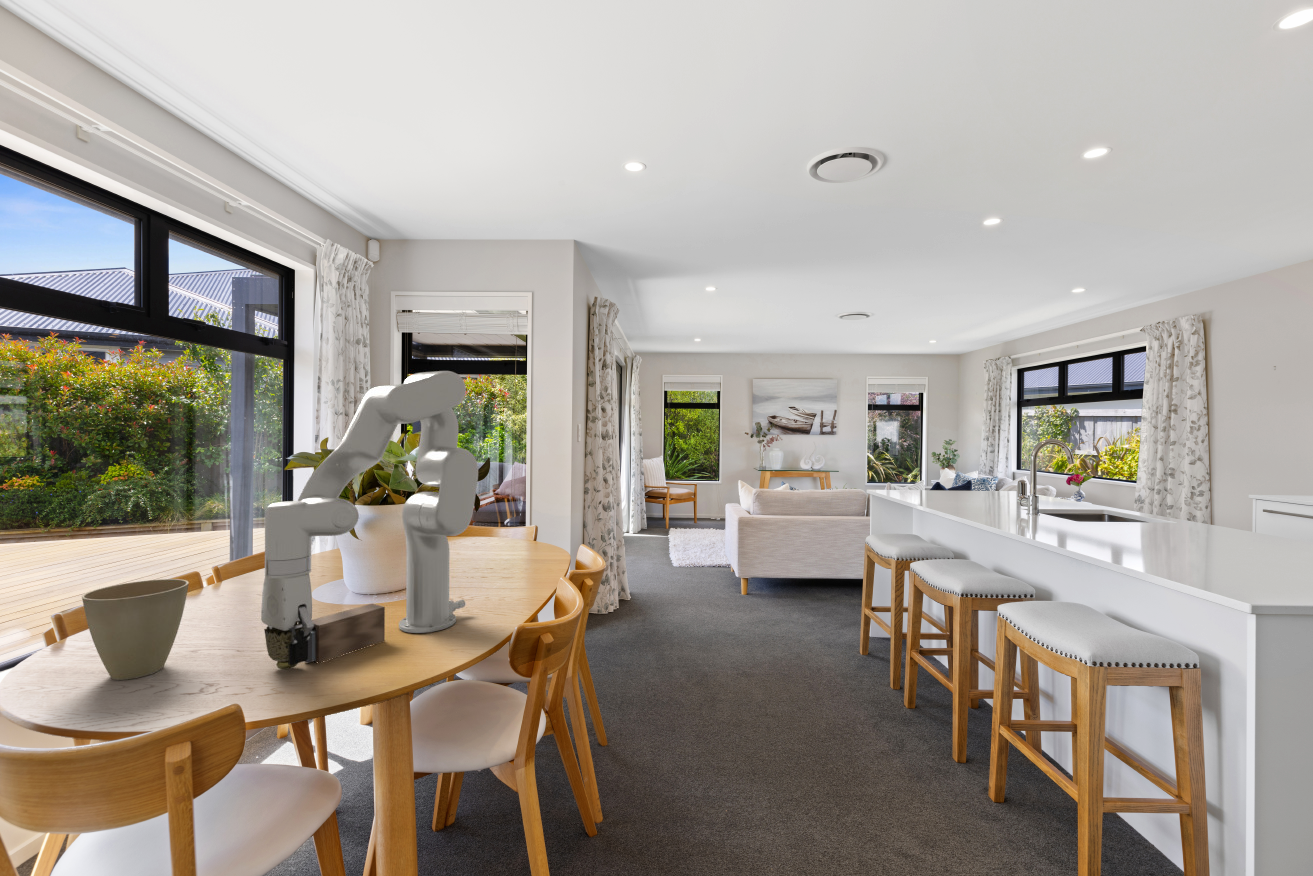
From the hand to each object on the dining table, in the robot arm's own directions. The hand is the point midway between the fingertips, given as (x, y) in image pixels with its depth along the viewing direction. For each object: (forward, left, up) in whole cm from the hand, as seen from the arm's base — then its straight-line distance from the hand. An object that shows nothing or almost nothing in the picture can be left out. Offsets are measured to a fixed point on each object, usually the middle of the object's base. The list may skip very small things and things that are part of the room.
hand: (288, 657), depth 108 cm
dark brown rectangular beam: (-12, 0, -2) cm, 12 cm away
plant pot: (+15, -23, -3) cm, 28 cm away
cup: (0, 0, -2) cm, 2 cm away
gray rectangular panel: (-10, 0, -2) cm, 10 cm away
